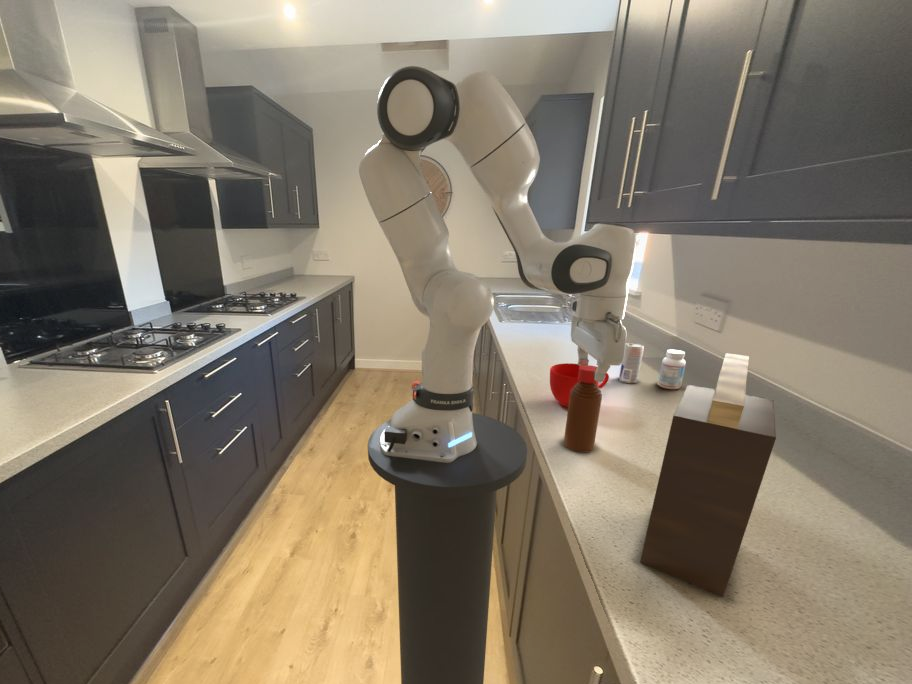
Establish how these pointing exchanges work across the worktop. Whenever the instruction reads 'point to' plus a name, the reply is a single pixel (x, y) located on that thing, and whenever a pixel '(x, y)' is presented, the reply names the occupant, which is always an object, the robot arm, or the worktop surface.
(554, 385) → the ceramic cup
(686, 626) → the worktop surface
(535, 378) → the worktop surface
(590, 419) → the bottle
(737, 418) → the bar
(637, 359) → the energy drink
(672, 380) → the pill bottle
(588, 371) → the cap
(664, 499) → the pedestal
